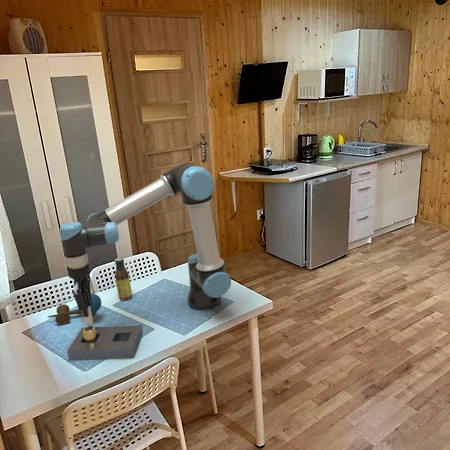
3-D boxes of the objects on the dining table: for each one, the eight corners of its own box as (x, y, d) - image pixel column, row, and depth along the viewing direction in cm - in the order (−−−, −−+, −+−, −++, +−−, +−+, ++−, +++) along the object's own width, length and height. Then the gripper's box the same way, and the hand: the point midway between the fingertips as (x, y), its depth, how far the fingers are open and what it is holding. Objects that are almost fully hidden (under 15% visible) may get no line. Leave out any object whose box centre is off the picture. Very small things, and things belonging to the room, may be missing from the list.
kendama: (97, 319, 186) (47, 328, 180) (95, 310, 195) (48, 318, 188) (95, 306, 184) (45, 315, 178) (94, 297, 193) (46, 306, 187)
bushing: (99, 343, 166) (96, 325, 164) (95, 350, 162) (92, 331, 160) (88, 344, 167) (84, 325, 164) (84, 350, 162) (80, 331, 160)
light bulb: (93, 326, 179) (88, 300, 175) (79, 321, 183) (75, 296, 180) (108, 317, 186) (104, 292, 182) (94, 313, 190) (90, 288, 186)
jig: (142, 334, 171) (141, 325, 170) (133, 358, 156) (132, 348, 155) (83, 336, 172) (82, 327, 171) (68, 360, 157) (67, 350, 156)
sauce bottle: (135, 296, 203) (129, 257, 197) (125, 302, 198) (120, 262, 192) (125, 294, 207) (119, 255, 201) (115, 299, 202) (109, 260, 196)
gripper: (74, 258, 160) (84, 314, 168) (60, 273, 148) (72, 332, 155) (93, 257, 160) (103, 313, 167) (81, 272, 148) (93, 331, 155)
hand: (88, 322), depth 161 cm, fingers closed
